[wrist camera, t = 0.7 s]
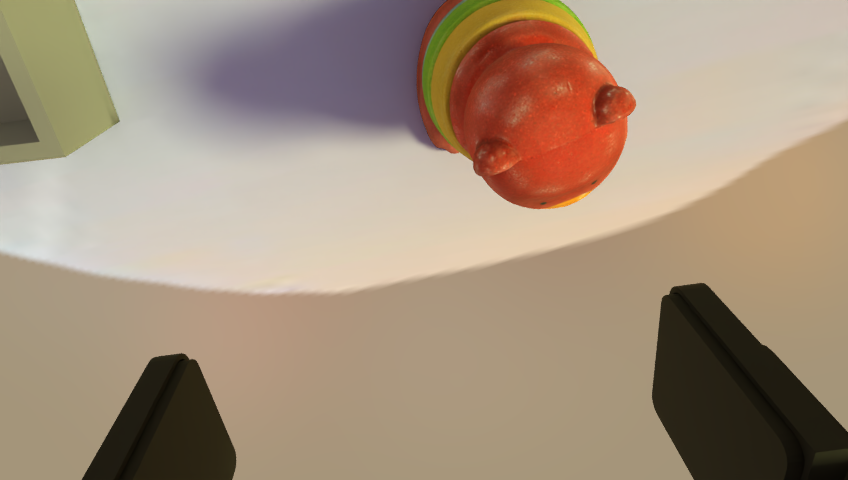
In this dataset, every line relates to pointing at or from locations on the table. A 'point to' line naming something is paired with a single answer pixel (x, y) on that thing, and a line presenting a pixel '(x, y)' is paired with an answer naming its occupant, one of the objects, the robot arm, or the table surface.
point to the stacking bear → (522, 98)
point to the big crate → (48, 82)
